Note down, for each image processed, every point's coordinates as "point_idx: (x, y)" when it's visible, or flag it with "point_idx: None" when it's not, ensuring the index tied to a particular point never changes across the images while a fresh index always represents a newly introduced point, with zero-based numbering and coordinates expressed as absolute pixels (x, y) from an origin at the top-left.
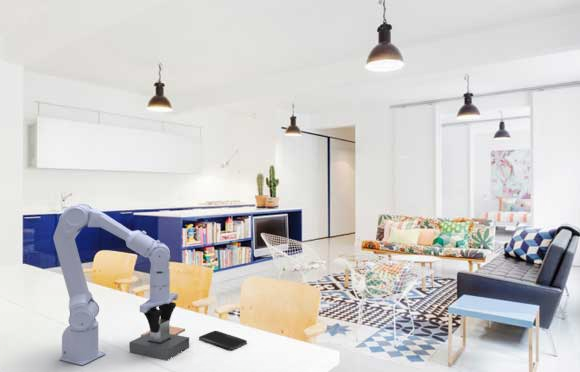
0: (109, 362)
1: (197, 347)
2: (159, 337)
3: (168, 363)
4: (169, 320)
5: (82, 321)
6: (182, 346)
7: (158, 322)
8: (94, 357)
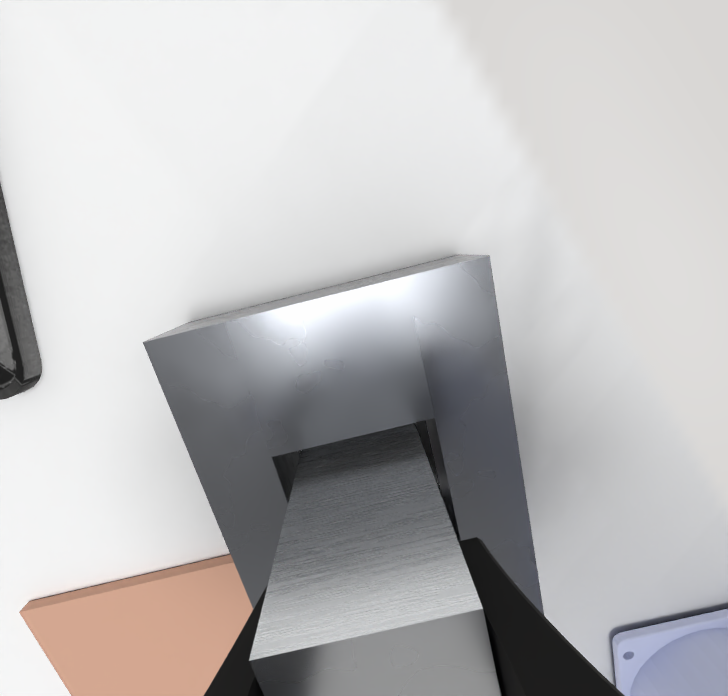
0: (672, 530)
1: (137, 262)
2: (434, 480)
3: (486, 201)
4: (228, 665)
5: None
6: (263, 307)
7: (522, 660)
8: (696, 630)
